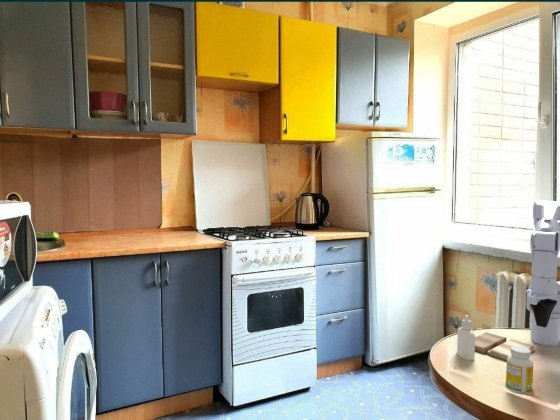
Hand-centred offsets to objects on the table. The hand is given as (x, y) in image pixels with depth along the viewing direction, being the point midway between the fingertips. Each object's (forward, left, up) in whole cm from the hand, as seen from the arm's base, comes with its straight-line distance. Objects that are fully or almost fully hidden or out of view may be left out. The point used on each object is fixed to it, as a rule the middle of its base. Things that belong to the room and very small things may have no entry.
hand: (541, 326), depth 113 cm
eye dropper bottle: (+15, -13, -10) cm, 22 cm away
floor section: (+3, -10, -9) cm, 14 cm away
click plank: (+3, -6, -9) cm, 11 cm away
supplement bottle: (+22, +3, -10) cm, 24 cm away
